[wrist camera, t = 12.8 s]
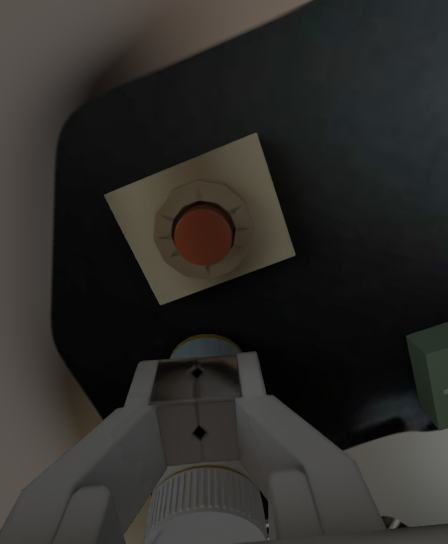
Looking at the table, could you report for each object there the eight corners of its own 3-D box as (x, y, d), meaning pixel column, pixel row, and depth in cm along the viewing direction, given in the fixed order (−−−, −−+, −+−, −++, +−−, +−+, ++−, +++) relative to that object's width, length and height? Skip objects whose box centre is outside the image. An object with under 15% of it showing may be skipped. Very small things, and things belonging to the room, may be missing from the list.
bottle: (218, 316, 28) (228, 482, 14) (259, 371, 31) (301, 561, 17) (153, 354, 29) (103, 543, 15) (197, 404, 32) (188, 609, 18)
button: (189, 264, 23) (187, 273, 21) (168, 216, 21) (164, 222, 20) (238, 246, 22) (240, 254, 21) (219, 196, 21) (219, 200, 19)
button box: (163, 293, 27) (156, 317, 24) (112, 191, 24) (94, 199, 20) (289, 247, 26) (302, 263, 23) (252, 133, 23) (260, 131, 19)
